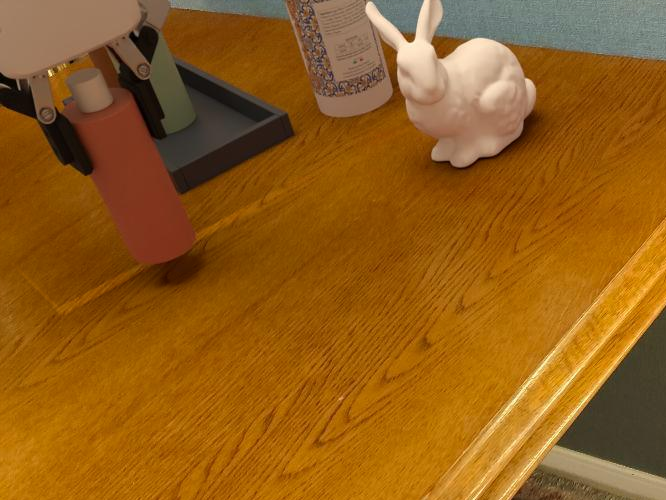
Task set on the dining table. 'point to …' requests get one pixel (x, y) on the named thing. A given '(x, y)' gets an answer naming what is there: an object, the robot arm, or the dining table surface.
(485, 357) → the dining table surface
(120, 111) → the terracotta bottle
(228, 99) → the tray
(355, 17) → the bath foam
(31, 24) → the robot arm
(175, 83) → the sage bottle
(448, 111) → the rabbit
